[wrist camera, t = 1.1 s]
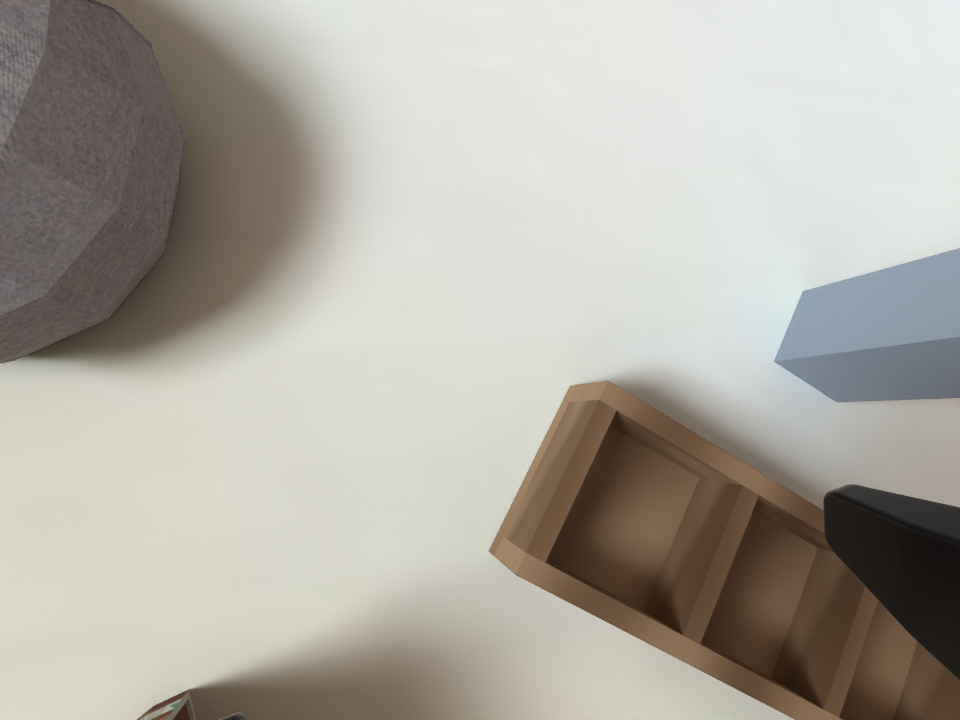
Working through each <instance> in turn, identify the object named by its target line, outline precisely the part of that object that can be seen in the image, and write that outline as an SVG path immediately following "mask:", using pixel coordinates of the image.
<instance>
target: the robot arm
mask: <svg viewBox="0 0 960 720" xmlns="http://www.w3.org/2000/svg"><path fill="white" fill-rule="evenodd" d="M824 535H825V539H826V541H827V544H828V545H829V547H830V549H831V550H832V551H833V552H834V554H835V555H836V556H837V557H838V558H839V559H840V560H841V561H842V562H843V563H844V564H845V565H846V567H847V568H848V569H849V570H850V571H851V572H852V573H853V574H854V575H855V576H856V577H857V578H858V580H859V581H860V582H861V583H862V584H863V585H864V586H865V587H866V588H867V589H868V590H869V591H870V593H871V594H872V595H873V596H874V597H875V598H876V599H877V600H878V601H879V602H880V603H881V604H882V606H883V607H884V608H885V609H886V610H887V611H888V612H889V613H890V614H891V615H892V616H893V617H894V618H895V620H896V621H897V622H898V623H899V624H900V625H901V626H902V627H903V628H904V629H905V630H906V631H907V632H908V633H909V634H910V635H911V636H912V637H913V638H914V639H915V640H916V641H917V642H918V643H919V644H920V645H921V646H922V647H924V648H925V649H926V650H927V651H928V652H929V653H930V654H931V655H932V656H933V657H934V658H935V659H936V660H938V661H939V662H940V663H941V664H942V665H943V666H944V667H945V668H946V669H947V670H948V671H950V672H951V673H952V674H953V675H954V676H955V677H956V678H957V679H958V680H959V681H960V507H955V506H950V505H946V504H941V503H937V502H932V501H927V500H923V499H918V498H914V497H909V496H904V495H900V494H895V493H891V492H886V491H881V490H877V489H872V488H868V487H863V486H858V485H845V486H842V487H840V488H837V489H834V490H832V491H829V492H828V493H826V495H825V497H824ZM219 720H248V719H247V718H246V716H245V715H244V714H242V713H235V714H232V715H229V716H227V717H224V718H221V719H219Z"/></svg>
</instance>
